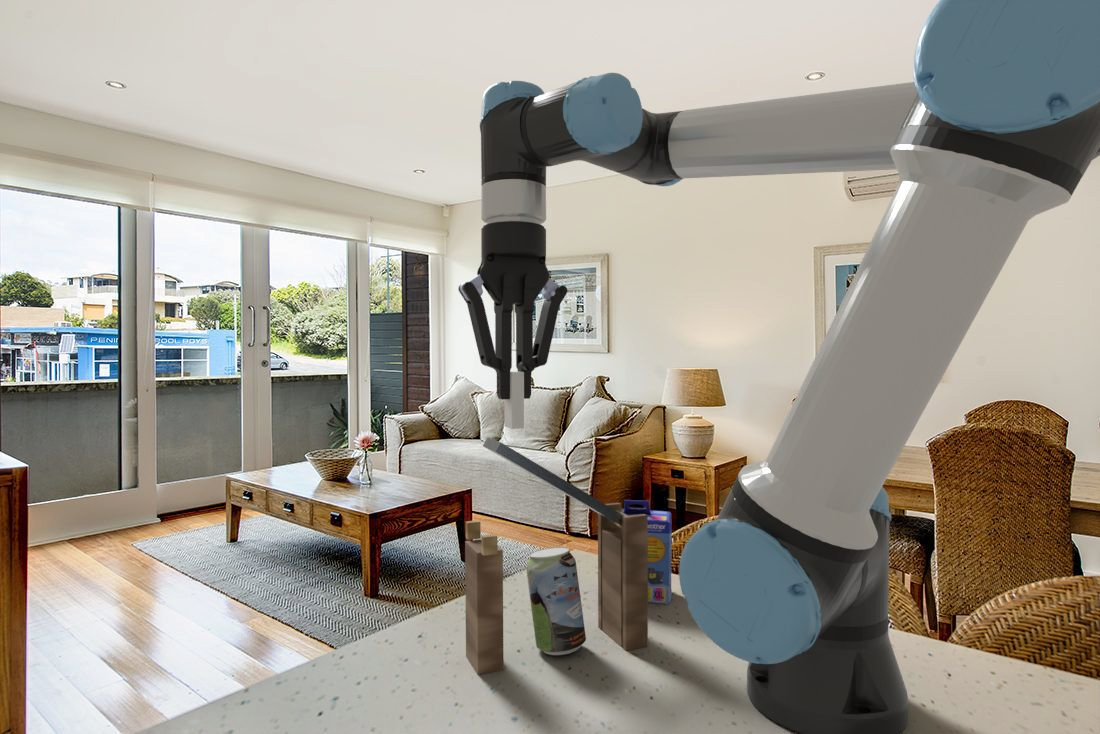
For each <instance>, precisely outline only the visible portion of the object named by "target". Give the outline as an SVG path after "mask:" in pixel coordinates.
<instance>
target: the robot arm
mask: <svg viewBox="0 0 1100 734" xmlns="http://www.w3.org/2000/svg"><path fill="white" fill-rule="evenodd" d="M913 58H914V59H913V69H912V70H913V72H912V73H913V76H912V77H913V81H910V82H904V83H903V82H902V83H896V84H894V83H893V84H889V85H888V84H886V85H879V86H871V87H863V88H862V87H861V88H854V89H853V88H852V89H847V90H846V89H845V90H839V91H830V92H829V91H828V92H823V93H821V92H820V93H813V94H806V95H805V94H804V95H797V96H788V97H782V98H781V97H780V98H772V99H766V100H757V101H748V102H740V103H733V104H725V105H724V104H723V105H717V106H708V107H700V108H699V107H697V108H691V109H684V110H679V111H670V112H669V111H668V112H660V113H658V112H657V113H654V112H651V111H649V110H646V109H645V108H643V107H642V106H643V105H642V102H641V99H640V98H641V97H640V96H639V92H638V91H637V90H636V88H633V87H632V84H631V81H630V80H629V78H628V77H626V76H624V75H623V74H621V73H617V72H607V73H603V74H600V75H593V76H592V75H591V76H589V77H584V78H581V79H578V80H577V81H575V82H573V83H570V84H567V85H564V86H562V87H559V88H556V89H553V90H550V91H547V92H544V90H543V89H542V88H541V87H540V86H539V85H537V84H536V83H532V82H529V81H524V80H510V81H508V82H505V81H500V82H497V83H494V84H491V85H490V86H489V87H488V88H487V89H486V90H485V91H484V93H483V95H482V99H481V113H480V114H481V115H480V122H479V132H480V152H481V153H480V154H481V155H480V161H481V162H480V164H481V165H480V166H481V167H480V169H481V173H480V174H481V175H480V176H481V177H480V178H481V181H480V182H481V220H482V222H483V223H484V224H483V226H482V228H481V229H480V231H481V237H480V238H481V245H480V246H481V247H480V248H481V250H480V251H481V256H480V257H481V262H480V265H479V267H478V269H477V273H476V274H477V275H476V276H474V277H473V278H472V279H470V280H469V281H466V282H463V283H461V284H459V286H458V292H459V294H460V295H461V297H462V298H463V300H464V301H465V303H466V305H467V308H468V309H467V310H468V314H469V317H470V322H471V326H472V332H473V335H474V338H475V342H476V343H475V344H476V347H477V350H478V355H479V356H478V357H479V360H480V363H481V365H483V366H485V367H487V368H488V367H489V368H491V369H493V370H494V371H495V373H496V396H497V398H498V400H503V401H504V402H503V404H504V405H503V407H504V409H503V410H504V412H503V413H504V414H503V415H504V417H503V420H504V423H503V424H504V425H503V426H504V428H507V429H511V430H518V429H525V400H527V399H528V400H529V399H530V398H531V397H532V396H531V395H532V372H533V371H534V370H535V369H537V368H539V367H542V366H545V365H546V364H547V362H548V360H549V354H550V351H551V347H552V340H553V335H554V331H555V327H556V322H557V319H558V313H559V310H560V305H561V304H562V302H563V300H564V299H565V297H566V296H567V294H568V288H567V286H566V285H559V284H557V282H555V281H554V280H553V279H551V278H550V271H549V269H548V267H547V264H546V260H547V229H546V228H545V226H544V225H542V224H544V223H545V222H546V221H547V168H548V167H553V166H554V167H555V166H558V165H559V166H560V165H562V164H566V163H570V162H577V161H581V162H582V161H583V162H585V163H589V164H591V165H594V166H597V167H600V168H603V169H606V170H609V171H612V172H614V173H618V174H620V175H622V176H626V177H629V178H632V179H634V180H637V181H639V182H640V183H643V184H645V185H650V186H657V187H658V186H659V187H669V186H674V185H675V184H677V183H679V182H680V181H682V180H683V179H702V178H703V179H704V178H723V177H725V178H726V177H727V178H729V177H749V176H750V177H751V176H773V175H793V174H794V175H795V174H796V175H798V174H817V173H818V174H820V173H823V174H824V173H838V172H839V173H841V172H842V173H843V172H862V171H863V172H867V171H868V172H869V171H870V172H871V171H886V170H887V171H889V170H893V171H894V170H897V173H898V177H899V178H898V180H899V183H898V184H897V186H896V188H895V191H894V193H893V195H892V197H891V198H890V201H889V204H888V206H887V208H886V209H885V212H884V213H883V216H882V218H881V219H880V222H879V224H878V226H877V228H876V230H875V232H874V234H873V237H872V239H871V240H870V243H869V245H868V247H867V249H866V252H865V253H864V255H863V257H862V259H861V262H860V264H859V265H858V268H857V270H856V272H855V273H854V276H853V277H852V281H851V282H850V284H849V286H848V289H847V291H846V293H845V294H844V296H843V299H842V301H841V304H840V305H839V307H838V310H837V312H836V314H835V316H834V317H833V319H832V322H831V324H830V325H829V328H828V330H827V332H826V334H825V336H824V339H823V341H822V343H821V344H820V347H819V348H818V351H817V353H816V354H815V355H816V356H815V357H814V360H813V362H811V363H812V364H811V365H810V368H809V369H808V371H807V374H806V376H805V378H804V380H803V382H802V384H801V386H800V388H799V390H798V393H797V395H796V397H795V399H794V401H793V403H792V404H791V407H790V410H789V411H788V413H787V416H786V417H785V419H784V421H783V423H782V426H781V427H780V430H779V432H778V434H777V435H776V439H775V441H774V442H773V445H772V446H771V449H770V451H769V452H768V455H767V457H766V458H765V459H763V460H759V461H756V462H753V463H750V464H747V465H744V466H742V468H741V469H740V471H739V472H738V474H737V476H736V478H735V481H734V483H733V485H732V486H731V489H730V492H729V493H728V495H727V497H726V498H725V501H724V503H723V505H722V508H721V510H720V512H719V514H718V516H717V517H716V519H715V520H711V521H708V522H705V523H704V524H702V525H701V527H700V528H699V529H697V530H696V531H695V532H694V533H693V534H692V536H691V537H690V538H688V540H687V541H686V543H685V545H684V547H683V549H682V551H681V552H682V553H681V555H680V559H679V566H678V567H679V568H678V575H679V576H678V577H679V584H680V585H679V586H680V590H681V594H682V596H684V597H685V600H686V603H687V609H688V611H689V613H690V616H691V617H692V619H693V620H694V621H695V623H696V624H697V625H698V627H699V629H700V630H701V631H702V632H703V633H704V635H705V636H707V638H709V639H710V641H711V642H712V643H714V644H715V645H717V646H718V647H719V648H720V649H721V650H723V651H724V652H726V653H728V654H729V655H731V656H733V657H735V658H737V659H740V660H742V661H745V662H748V664H747V669H746V670H747V671H746V692H747V696H748V698H749V700H750V702H751V703H752V704H753V706H754V707H755V708H756V709H757V711H760V713H761V714H763V715H764V716H765V717H767V718H768V719H770V720H771V721H773V722H775V723H777V724H779V725H780V726H783V727H785V728H787V729H789V730H792V731H795V732H796V733H799V734H901V733H902V731H904V730H905V729H906V727H907V725H908V721H909V696H908V691H907V688H906V684H905V681H904V679H903V675H902V673H901V669H900V667H899V664H898V661H897V658H896V655H895V652H894V649H893V645H892V643H891V639H890V637H889V612H890V611H889V609H890V608H889V603H890V602H889V599H890V597H889V596H890V595H889V594H890V593H889V589H890V587H889V586H890V585H889V584H890V583H889V582H890V581H889V580H890V522H892V514H891V512H890V505H889V503H890V502H889V495H888V492H887V491H886V489H885V488H884V487H883V486H884V484H885V482H886V480H887V479H888V477H889V475H890V473H891V472H892V469H893V467H894V466H895V464H896V462H897V460H898V458H899V457H900V455H901V454H902V451H903V449H904V448H905V446H906V444H907V442H908V440H909V438H910V436H911V435H912V433H913V431H914V429H915V428H916V425H917V424H918V422H919V420H920V418H921V416H922V414H923V413H924V412H925V410H926V407H927V405H928V403H929V402H930V401H931V398H932V397H933V395H934V393H935V392H936V389H937V388H938V386H939V384H940V383H941V380H942V379H943V377H944V375H945V373H946V372H947V370H948V367H949V365H950V364H951V362H952V360H953V358H954V357H955V355H956V353H957V352H958V349H959V347H960V346H961V344H962V342H963V340H964V339H965V337H966V335H967V333H968V332H969V330H970V329H971V328H970V327H971V326H972V325H973V322H974V320H975V318H976V317H977V315H978V314H979V312H980V309H981V308H982V306H983V304H984V302H985V300H986V298H987V296H988V295H989V293H990V291H991V290H992V288H993V285H994V283H995V282H996V280H997V279H998V277H999V275H1000V273H1001V272H1002V269H1003V268H1004V266H1005V264H1006V262H1007V260H1008V259H1009V256H1010V255H1011V254H1012V252H1013V250H1014V248H1015V245H1016V244H1017V242H1018V241H1019V239H1020V237H1021V235H1022V233H1023V231H1024V229H1025V228H1026V226H1027V224H1028V222H1029V221H1030V220H1032V219H1033V218H1034V217H1035V216H1037V215H1040V214H1042V213H1044V212H1047V211H1049V210H1052V209H1055V208H1056V207H1060V206H1062V205H1065V204H1067V203H1069V201H1070V200H1071V198H1072V196H1073V194H1074V192H1075V190H1076V189H1077V186H1078V185H1079V183H1080V182H1081V180H1082V178H1083V176H1084V175H1085V173H1086V172H1087V170H1088V168H1089V166H1090V164H1091V163H1092V161H1094V160H1095V159H1096V158H1098V157H1100V0H939V1H938V2H937V3H936V4H935V6H934V8H932V11H931V12H930V14H929V15H928V17H927V19H926V20H925V22H924V24H923V26H922V29H921V31H920V33H919V35H918V38H917V42H916V45H915V50H914V57H913ZM483 288H484V289H485V290H486V292H487V294H488V295H489V296H490V298H491V300H492V301H493V311H494V313H495V317H494V318H495V319H494V321H495V323H494V327H495V332H494V334H495V335H494V336H495V340H494V342H495V344H494V342H493V337H492V334H491V330H490V326H489V325H490V324H489V321H488V315H487V313H486V309H485V308H486V307H485V304H484V301H483V297H482V296H483V293H484V290H483ZM543 289H544V291H543ZM542 291H543V294H542V295H543V298H544V301H543V302H542V305H541V310H540V314H539V320H538V322H537V323H538V324H537V329H536V333H535V336H533V335H534V327H533V325H534V323H533V322H534V321H533V320H534V318H533V314H534V311H535V301H536V299H537V298H538V297H539V295H540V293H541V292H542ZM513 310H514V313H515V363H516V364H515V367H516V370H517V371H514V370H513V371H511V370H512V367H513V365H512V364H513V361H512V360H513V359H512V358H513V357H512V356H513V353H512V351H513V350H512V349H513V348H512V347H513V345H512V344H513V341H512V340H513V334H512V333H513V320H512V319H513V318H512V317H513V315H512V314H513ZM533 339H534V340H533ZM494 345H495V346H494Z"/></svg>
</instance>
